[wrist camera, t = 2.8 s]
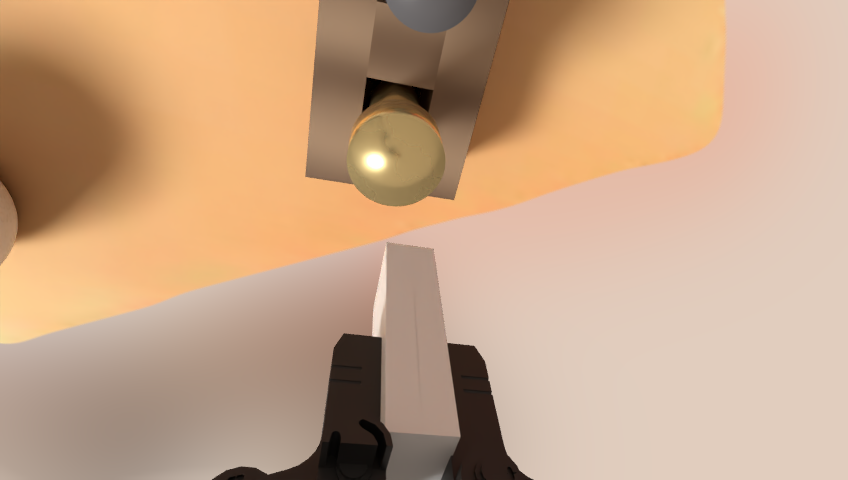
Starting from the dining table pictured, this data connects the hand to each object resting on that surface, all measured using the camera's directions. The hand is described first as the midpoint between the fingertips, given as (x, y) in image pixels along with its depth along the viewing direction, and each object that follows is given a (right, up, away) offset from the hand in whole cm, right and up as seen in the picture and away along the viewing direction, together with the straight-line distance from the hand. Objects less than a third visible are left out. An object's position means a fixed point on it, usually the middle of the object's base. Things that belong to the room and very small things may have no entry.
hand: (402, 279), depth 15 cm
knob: (-1, +10, +15) cm, 18 cm away
